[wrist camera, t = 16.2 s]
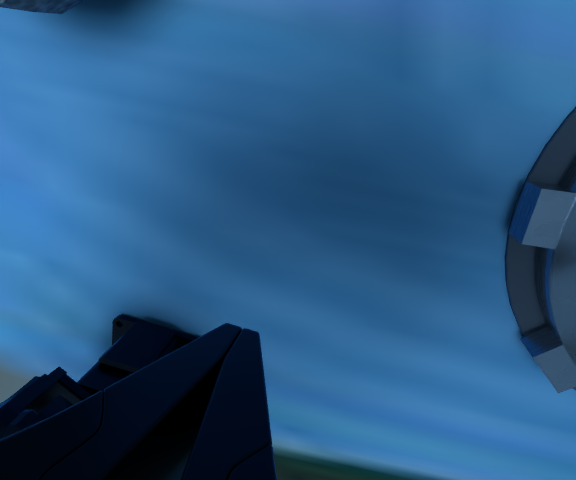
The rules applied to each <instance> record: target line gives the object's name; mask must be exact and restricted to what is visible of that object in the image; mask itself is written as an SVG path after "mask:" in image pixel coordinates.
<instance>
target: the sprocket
mask: <svg viewBox="0 0 576 480" xmlns="http://www.w3.org/2000/svg"><path fill="white" fill-rule="evenodd" d="M508 233H509V234H510V235H512V236H513V237H514V238H515V239H516V240H517V241H519V242H520V243H521V244H524V245H531V246H537V247H538V248H537V255H536V288H537V293H538V299H539V305H540V308H541V310H542V313H543V316H544V319H545V321H546V324H547V326H548V327H546V328H543V329H541V330H539V331H537V332H534V333H532V334H530V335H528V336H525V337H523V338H521V341H522V342H523V344H524V345H525V347H526V348H527V350H528V351H529V352H530V354H531V355H532V357H533V358H534V360H535V361H536V363H537V364H538V365H539V367H540V368H541V370H542V371H543V372H544V374H545V375H546V377H547V378H548V379H549V381H550V382H551V384H552V385H553V386H554V388H555V389H556V391H557V392H558V393H560V392H563V391H566V390H568V389H571V388H574V387H576V159H575V160H574V162H573V164H572V165H571V167H570V168H569V170H568V172H567V173H566V175H565V177H564V178H563V180H562V181H561V183H560V185H559V186H558V185H550V184H542V183H535V182H527V181H526V183H525V186H524V189H523V192H522V195H521V198H520V201H519V204H518V206H517V209H516V212H515V215H514V218H513V221H512V224H511V226H510V229H509V232H508Z"/></svg>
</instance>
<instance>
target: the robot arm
mask: <svg viewBox="0 0 576 480" xmlns="http://www.w3.org/2000/svg"><path fill="white" fill-rule="evenodd" d="M120 322H121V323H120ZM66 373H67V372H66V371H64V370H63V369H62V368H61V367H58V368H56V369H55V370H54V371H53V372H51V373H50V374H49V375H46V374H44V375H43V376H41V377H37V376H35V377H34V378H33V379H32V380H30V381H29V382H28V383H27V384H26V385H24V386H23V387H22V388H21V389H20V390H19V391H17V392H16V393H15V394H14V395H12V396H11V397H10V398H8V399H7V400H5V401H4V402H2V403H0V480H277V476H276V469H275V463H274V454H273V447H272V439H271V430H270V421H269V412H268V404H267V395H266V386H265V378H264V369H263V360H262V352H261V343H260V335H259V333H258V332H256V331H253V330H249V329H246V328H244V329H242V328H241V327H239V326H236V325H232V324H229V323H225V324H223V325H221V326H219V327H218V328H216V329H214V330H212V331H210V332H208V333H207V334H205V335H203V336H201V337H199V338H198V337H195V336H192V335H188V334H185V333H181V332H178V331H175V330H171V329H168V328H165V327H161V326H158V325H155V324H151V323H148V322H144V321H141V320H138V319H134V318H131V317H128V316H124V315H118V316H117V317H116V318H115V319H114V320H113V330H112V346H111V347H110V348H109V349H108V350H107V351H106V352H105V353H104V354H103V355H102V356H101V357H100V358H99V361H98V362H97V363H96V364H95V365H94V366H93V367H92V368H91V369H90V370H89V371H88V372H87V373H86V374H85V375H84V376H83V377H82V378H81V379H80V380H79V381H78V382H75V381H74V380H73V379H72V378H70V377H69V376H68V375H67V374H66Z"/></svg>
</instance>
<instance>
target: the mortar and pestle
mask: <svg viewBox="0 0 576 480" xmlns="http://www.w3.org/2000/svg"><path fill="white" fill-rule="evenodd" d="M81 1H82V0H0V7H3V8H10V9H17V10H24V11H31V12H43V13H57V14H62V13H64V12H66V11H67V10H69V9H70V8H72V7H74V6H75V5H77V4H79V3H80V2H81Z"/></svg>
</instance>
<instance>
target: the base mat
mask: <svg viewBox="0 0 576 480" xmlns="http://www.w3.org/2000/svg"><path fill="white" fill-rule="evenodd" d="M575 159H576V108H575V109H574V110H573V111H572V112H571V113H570V114H569V115H568V116H567V118H566V119H565V120H564V122H563V123H562V124H561V126H560V127H559V128H558V130H557V131H556V132H555V134H554V135H553V136H552V138H551V139H550V140H549V142H548V143H547V144H546V146H545V147H544V149H543V151H542V153H541V154H540V156H539V158H538V159H537V161H536V163H535V164H534V166H533V168H532V170H531V171H530V173H529V175H528V177H527V179H526V181H527V182H535V183H542V184H550V185H558V186H559V185H560V183H561V181H562V180H563V178H564V177H565V175H566V173H567V172H568V170H569V168H570V167H571V165H572V164H573V162H574V160H575ZM525 183H526V182H525ZM524 186H525V184H524ZM524 186H523V189H524ZM523 189H522V191H521V193H520V196H519V198H518V200H517V203H516V206H515V209H514V213H513V216H512V220H511V224H512V221H513V218H514V215H515V212H516V209H517V206H518V204H519V201H520V198H521V195H522V192H523ZM511 224H510V226H511ZM509 229H510V227H509ZM508 232H509V231H508ZM537 248H538V247H537V246H531V245H524V244H521V243H520V242H519V241H517V240H516V239H515V238H514V237H513V236H512V235H510V234H509V233H508V239H507V247H506V255H505V267H506V285H507V290H508V295H509V300H510V305H511V307H512V310H513V313H514V315H515V318H516V321H517V323H518V326H519V328H520V329H521V331H522V333H523V335H524V336H528V335H530V334H532V333H534V332H537V331H539V330H541V329H543V328H546V327H548V326H547V324H546V321H545V319H544V316H543V313H542V310H541V308H540V305H539V299H538V293H537V288H536V255H537ZM573 389H575V390H576V387H574V388H573Z"/></svg>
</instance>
